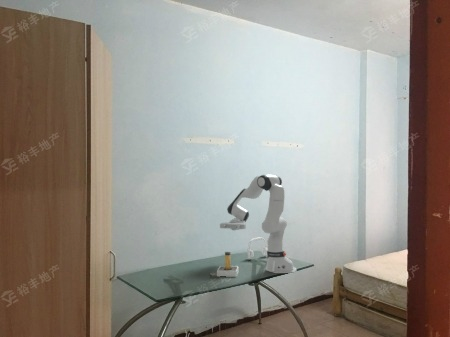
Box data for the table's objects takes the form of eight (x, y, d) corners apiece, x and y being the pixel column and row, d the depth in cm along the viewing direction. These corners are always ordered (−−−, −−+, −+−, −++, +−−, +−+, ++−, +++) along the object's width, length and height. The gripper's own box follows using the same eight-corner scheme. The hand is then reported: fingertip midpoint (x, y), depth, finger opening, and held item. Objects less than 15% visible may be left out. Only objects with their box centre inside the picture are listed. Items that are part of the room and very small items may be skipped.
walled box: (238, 271, 250) (238, 266, 250) (236, 276, 237) (236, 271, 237) (220, 271, 252) (219, 265, 252) (216, 276, 239) (216, 270, 239)
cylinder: (231, 271, 246) (230, 251, 246) (230, 273, 242) (230, 253, 242) (225, 271, 247) (225, 251, 247) (224, 273, 243) (224, 253, 243)
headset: (250, 260, 281) (250, 239, 282) (245, 259, 287) (245, 238, 288) (269, 257, 292) (269, 236, 292) (264, 255, 298) (263, 235, 298)
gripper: (221, 220, 273) (217, 222, 259) (246, 220, 268) (243, 223, 255) (222, 228, 273) (217, 231, 259) (247, 228, 268) (243, 231, 254)
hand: (230, 227), depth 257 cm, fingers open, 8 cm apart
